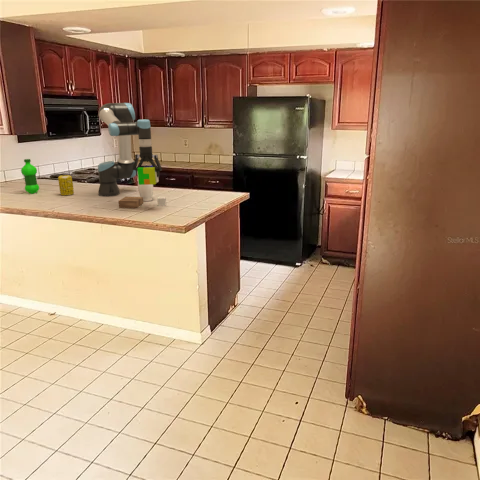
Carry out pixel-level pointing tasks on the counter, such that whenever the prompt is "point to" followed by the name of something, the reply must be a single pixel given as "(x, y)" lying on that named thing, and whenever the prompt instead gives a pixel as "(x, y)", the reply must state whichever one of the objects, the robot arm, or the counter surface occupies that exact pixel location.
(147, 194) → the jar
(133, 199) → the walnut block
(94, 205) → the counter surface
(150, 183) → the puzzle toy
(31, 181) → the plastic bottle
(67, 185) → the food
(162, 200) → the beige wooden block
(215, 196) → the counter surface
